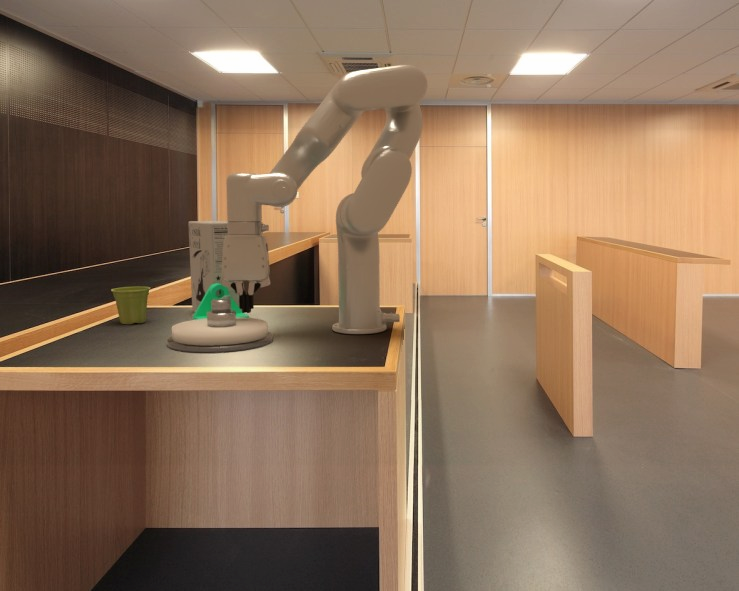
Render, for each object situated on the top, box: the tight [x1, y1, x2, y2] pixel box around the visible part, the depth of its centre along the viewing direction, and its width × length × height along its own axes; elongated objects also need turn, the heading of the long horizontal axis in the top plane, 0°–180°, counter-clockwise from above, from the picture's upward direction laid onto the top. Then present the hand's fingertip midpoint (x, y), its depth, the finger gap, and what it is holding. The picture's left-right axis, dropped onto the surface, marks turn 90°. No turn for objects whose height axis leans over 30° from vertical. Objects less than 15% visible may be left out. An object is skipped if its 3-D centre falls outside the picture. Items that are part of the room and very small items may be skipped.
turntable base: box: [166, 331, 274, 354], centre depth 143 cm, size 22×22×1 cm
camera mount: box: [192, 283, 250, 320], centre depth 162 cm, size 12×8×10 cm, turn 118°
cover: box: [207, 299, 236, 328], centre depth 142 cm, size 6×6×5 cm
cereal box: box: [188, 220, 242, 313], centre depth 176 cm, size 22×8×25 cm, turn 29°
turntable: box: [171, 296, 269, 346], centre depth 142 cm, size 20×20×7 cm
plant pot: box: [110, 286, 151, 325], centre depth 167 cm, size 9×9×9 cm
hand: (246, 311), depth 149 cm, fingers closed
